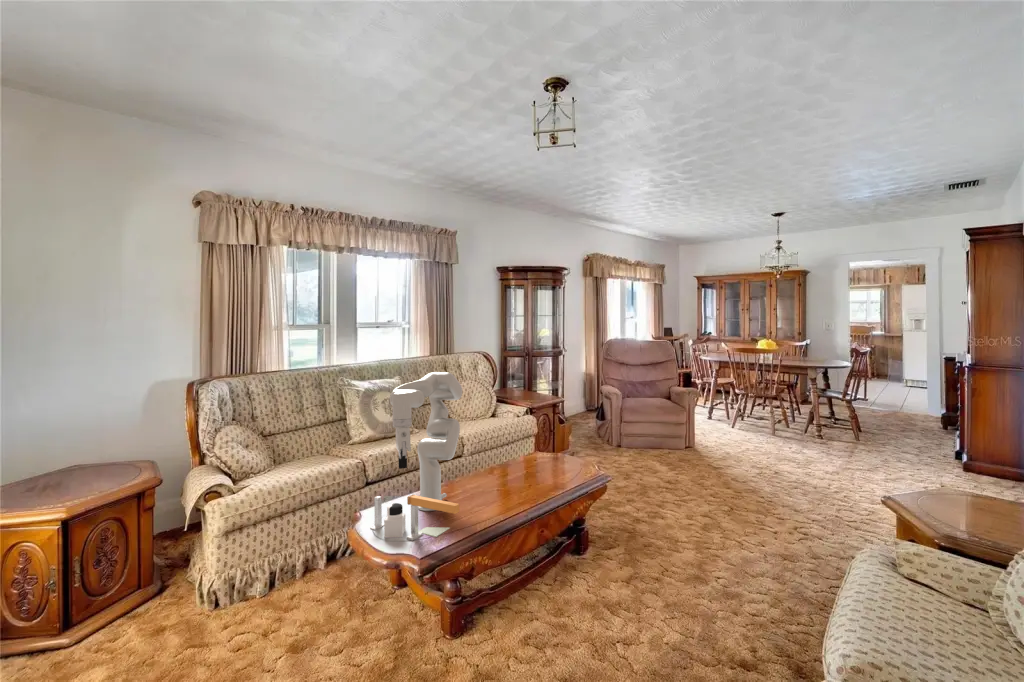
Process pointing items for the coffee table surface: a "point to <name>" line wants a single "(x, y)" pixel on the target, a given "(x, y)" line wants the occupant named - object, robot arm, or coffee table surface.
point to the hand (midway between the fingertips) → (402, 467)
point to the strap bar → (433, 504)
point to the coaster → (433, 531)
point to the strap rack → (379, 524)
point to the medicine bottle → (394, 521)
